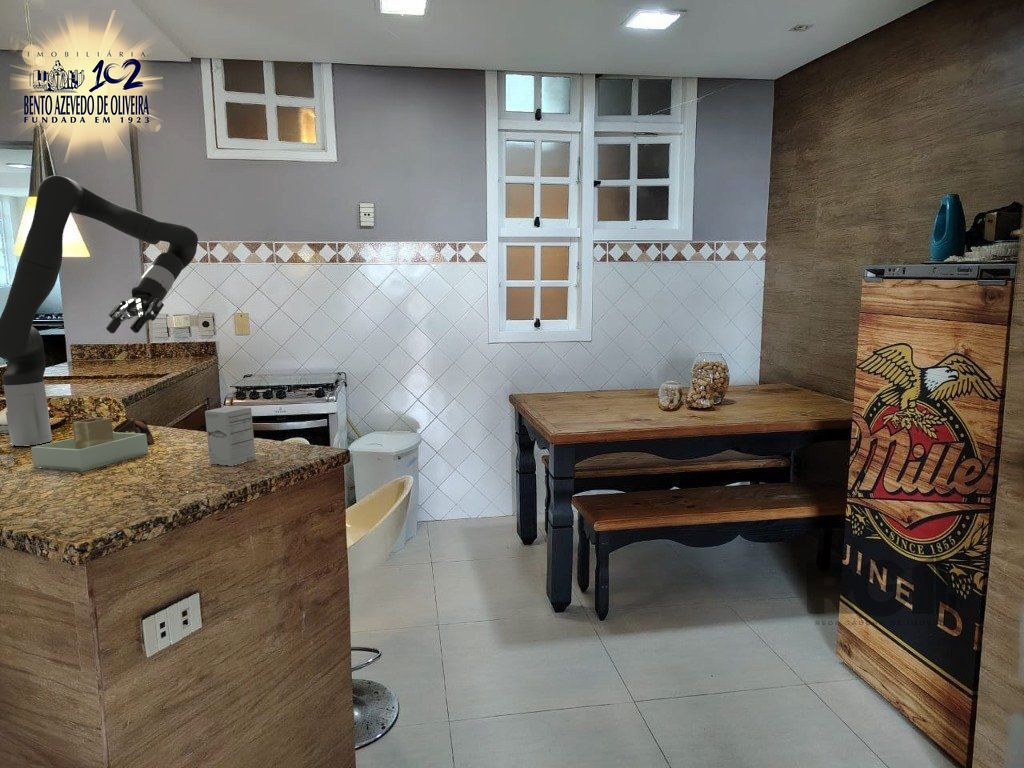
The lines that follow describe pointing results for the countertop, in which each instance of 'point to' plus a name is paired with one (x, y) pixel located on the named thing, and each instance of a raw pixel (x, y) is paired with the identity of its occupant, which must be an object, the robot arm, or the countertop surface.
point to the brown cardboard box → (92, 432)
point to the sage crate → (89, 452)
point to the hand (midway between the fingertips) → (121, 331)
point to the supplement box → (230, 435)
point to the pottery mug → (135, 428)
